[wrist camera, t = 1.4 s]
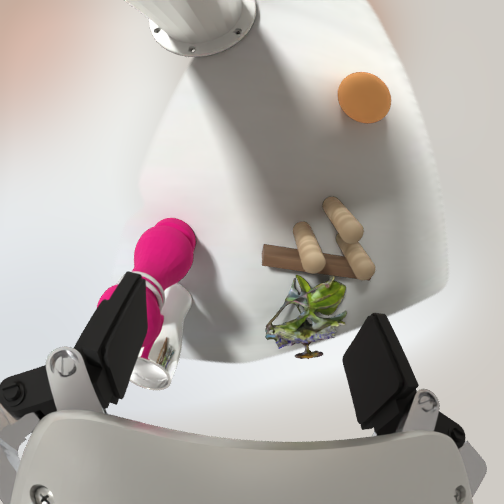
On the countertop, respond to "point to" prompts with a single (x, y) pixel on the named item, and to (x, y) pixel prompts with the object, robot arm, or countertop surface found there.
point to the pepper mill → (160, 266)
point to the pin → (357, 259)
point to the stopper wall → (292, 261)
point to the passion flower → (309, 316)
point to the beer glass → (164, 343)
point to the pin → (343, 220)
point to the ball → (364, 97)
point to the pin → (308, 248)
